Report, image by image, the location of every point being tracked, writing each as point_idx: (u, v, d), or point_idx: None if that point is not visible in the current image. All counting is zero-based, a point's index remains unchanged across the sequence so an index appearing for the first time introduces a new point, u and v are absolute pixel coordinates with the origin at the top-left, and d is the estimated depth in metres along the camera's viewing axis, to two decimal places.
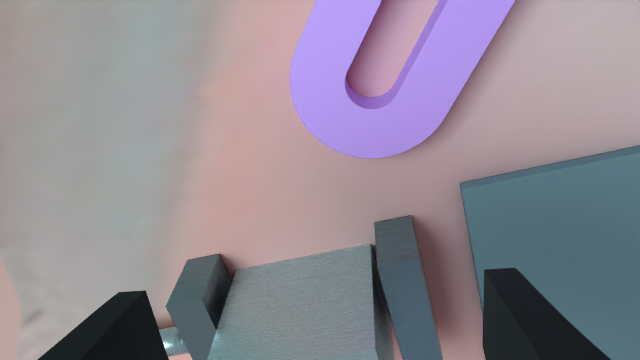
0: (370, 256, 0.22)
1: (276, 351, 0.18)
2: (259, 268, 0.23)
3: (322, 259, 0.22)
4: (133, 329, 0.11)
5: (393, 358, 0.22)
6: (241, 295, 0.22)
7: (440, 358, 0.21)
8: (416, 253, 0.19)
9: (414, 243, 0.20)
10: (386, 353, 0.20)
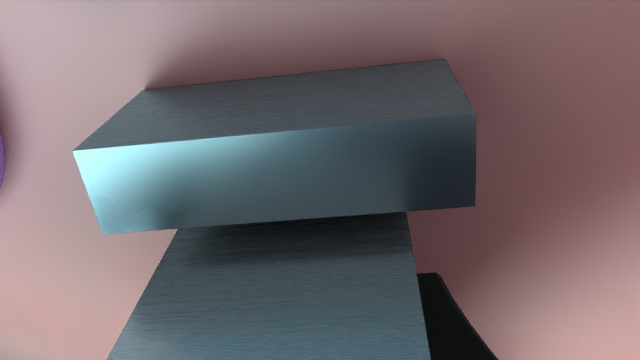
0: None
1: None
2: None
3: None
4: None
5: (397, 224, 0.09)
6: None
7: (395, 124, 0.08)
8: (84, 144, 0.08)
9: None
10: (288, 282, 0.08)
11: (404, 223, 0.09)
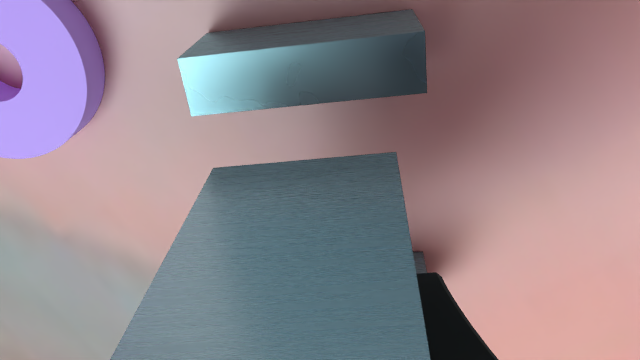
0: (205, 188, 0.11)
1: None
2: None
3: None
4: None
5: (397, 220, 0.09)
6: None
7: (376, 38, 0.13)
8: None
9: None
10: (290, 276, 0.08)
11: (403, 219, 0.09)
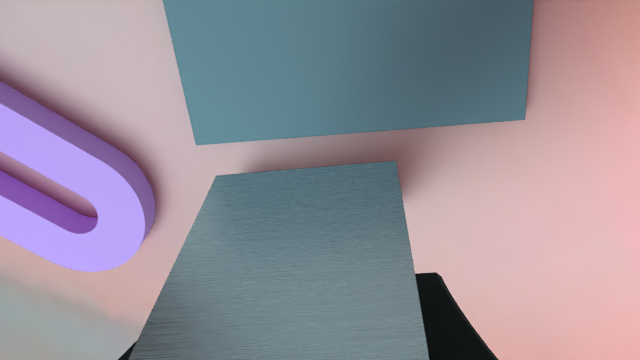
0: (209, 196, 0.11)
1: None
2: None
3: None
4: None
5: (397, 231, 0.09)
6: None
7: None
8: None
9: None
10: (295, 288, 0.08)
11: (404, 230, 0.09)
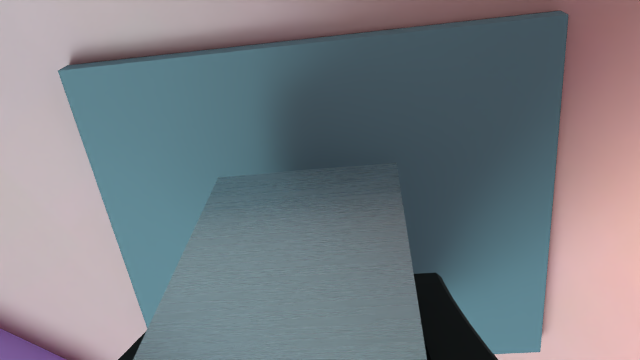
0: (210, 198, 0.11)
1: None
2: None
3: None
4: None
5: (397, 234, 0.09)
6: None
7: None
8: None
9: None
10: (295, 291, 0.08)
11: (403, 233, 0.09)
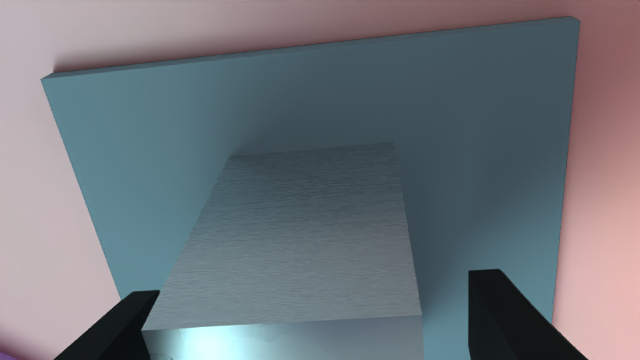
0: (222, 174, 0.12)
1: None
2: None
3: None
4: None
5: (394, 199, 0.10)
6: None
7: None
8: None
9: None
10: (301, 245, 0.09)
11: (399, 197, 0.10)
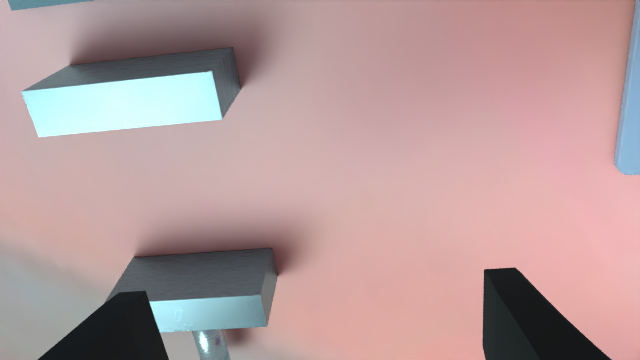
0: None
1: None
2: None
3: None
4: (133, 329, 0.11)
5: None
6: None
7: (175, 77, 0.16)
8: (28, 89, 0.17)
9: None
10: None
11: None
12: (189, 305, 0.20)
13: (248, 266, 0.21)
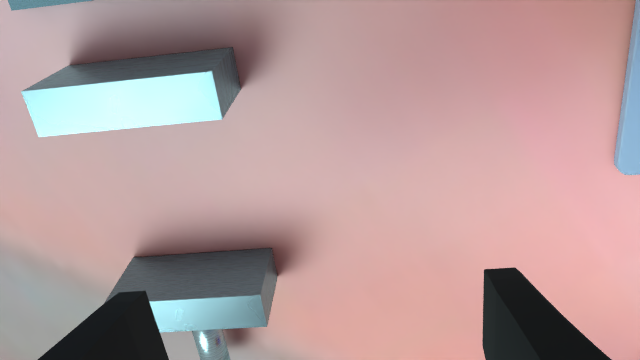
0: None
1: None
2: None
3: None
4: (133, 329, 0.11)
5: None
6: None
7: (175, 77, 0.16)
8: (28, 89, 0.17)
9: None
10: None
11: None
12: (189, 305, 0.20)
13: (248, 266, 0.21)
